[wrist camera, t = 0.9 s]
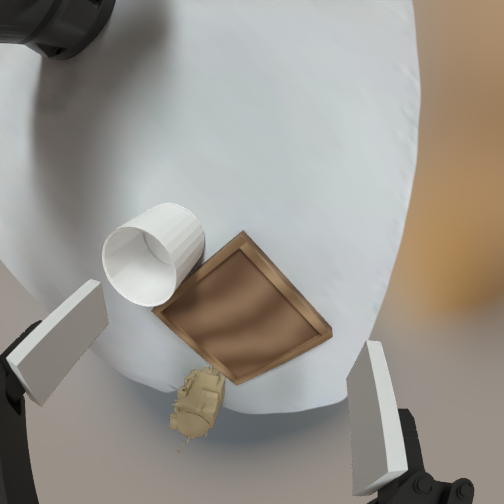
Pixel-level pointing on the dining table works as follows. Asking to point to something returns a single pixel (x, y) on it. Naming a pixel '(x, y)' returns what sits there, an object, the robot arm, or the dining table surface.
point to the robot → (198, 402)
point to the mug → (153, 253)
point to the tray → (242, 313)
